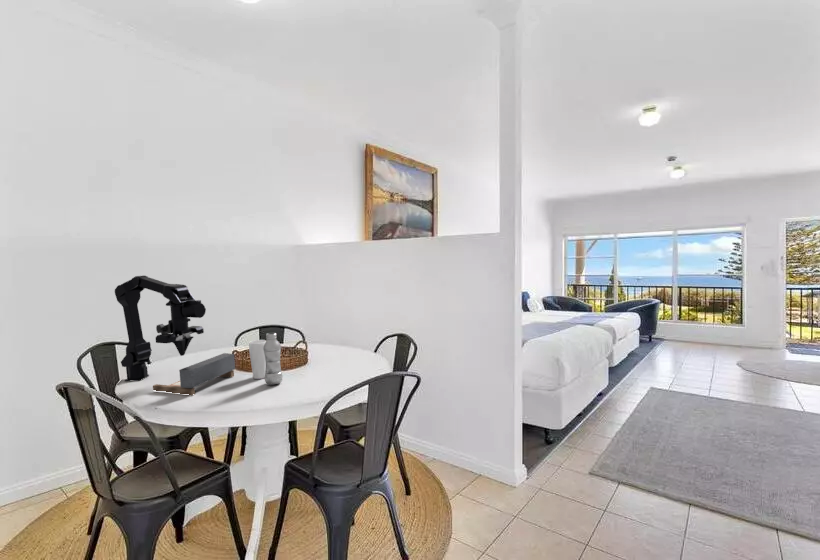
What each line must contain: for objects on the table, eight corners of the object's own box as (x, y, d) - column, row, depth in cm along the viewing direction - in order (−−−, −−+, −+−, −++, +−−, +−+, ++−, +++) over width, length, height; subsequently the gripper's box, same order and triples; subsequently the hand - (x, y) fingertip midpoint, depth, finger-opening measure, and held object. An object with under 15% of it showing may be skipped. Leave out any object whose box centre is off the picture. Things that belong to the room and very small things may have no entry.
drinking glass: (271, 374, 174) (269, 339, 172) (264, 380, 167) (261, 343, 166) (255, 374, 174) (253, 339, 173) (248, 380, 168) (245, 343, 166)
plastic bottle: (267, 381, 165) (264, 332, 163) (284, 380, 166) (281, 331, 164) (262, 387, 159) (259, 335, 157) (281, 386, 159) (278, 335, 158)
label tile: (168, 387, 162) (167, 385, 162) (190, 377, 173) (190, 376, 173) (184, 388, 160) (184, 386, 160) (206, 379, 170) (205, 377, 170)
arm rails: (153, 392, 157) (152, 385, 157) (198, 373, 178) (198, 367, 178) (191, 395, 152) (191, 389, 152) (234, 376, 173) (233, 370, 173)
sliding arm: (180, 387, 153) (179, 369, 152) (224, 368, 175) (223, 353, 174) (191, 388, 151) (190, 370, 151) (235, 369, 173) (233, 353, 172)
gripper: (181, 312, 176) (184, 348, 177) (142, 320, 158) (145, 360, 159) (203, 313, 173) (205, 349, 174) (166, 321, 155) (169, 362, 156)
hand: (182, 355), depth 166 cm, fingers closed
